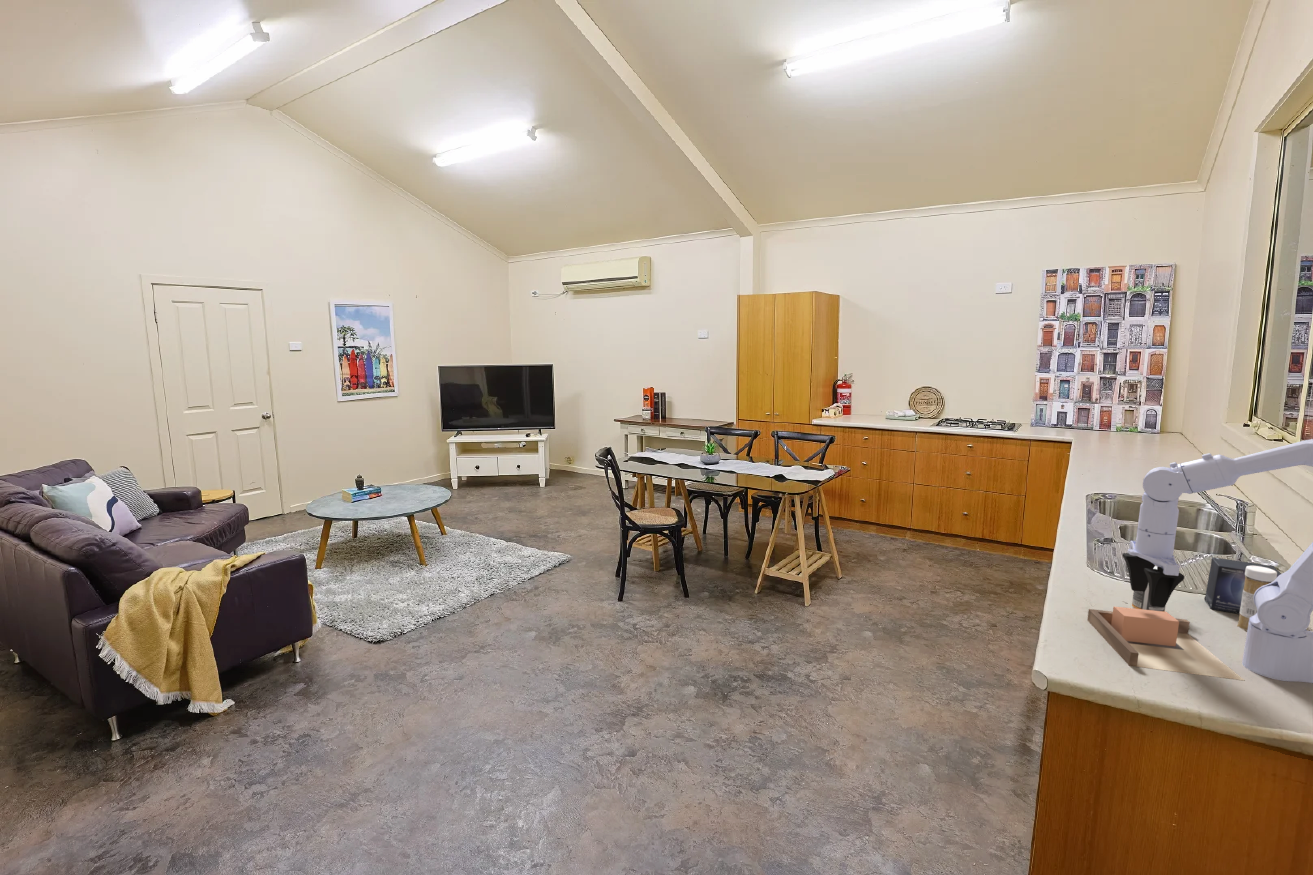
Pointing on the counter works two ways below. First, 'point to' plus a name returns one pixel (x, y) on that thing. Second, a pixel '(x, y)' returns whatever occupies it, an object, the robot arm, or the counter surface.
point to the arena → (1162, 650)
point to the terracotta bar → (1145, 626)
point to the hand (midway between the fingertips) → (1147, 598)
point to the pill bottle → (1144, 600)
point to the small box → (1228, 584)
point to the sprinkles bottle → (1253, 591)
